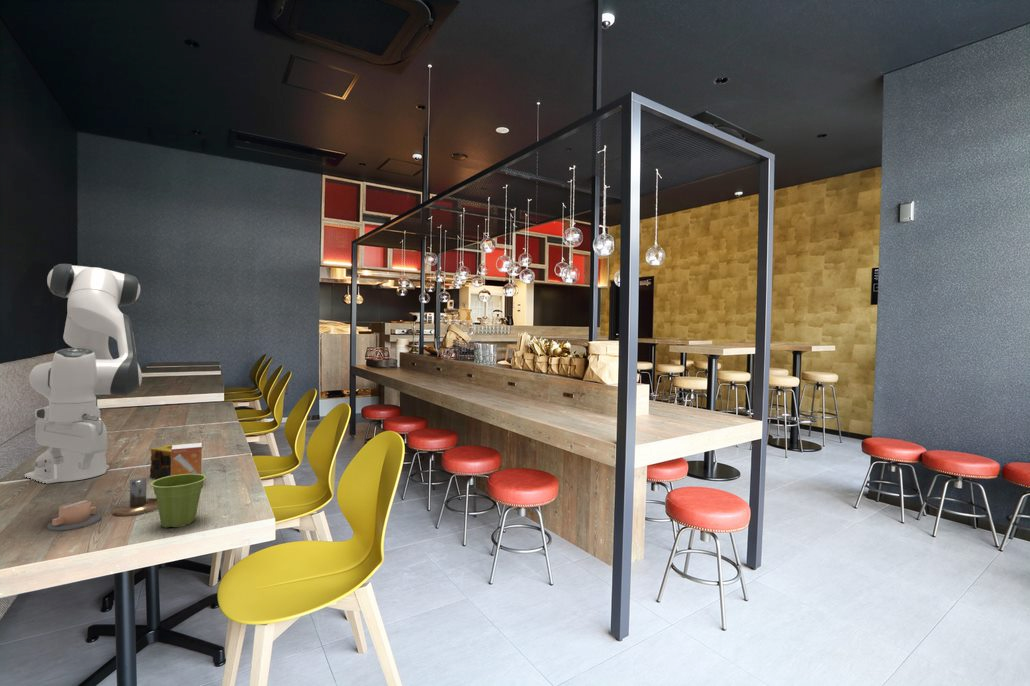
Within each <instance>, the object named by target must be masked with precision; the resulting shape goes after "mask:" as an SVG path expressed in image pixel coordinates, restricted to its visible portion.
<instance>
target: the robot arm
mask: <svg viewBox="0 0 1030 686" xmlns="http://www.w3.org/2000/svg"><path fill="white" fill-rule="evenodd" d="M46 281H47V282H46V283H47V286H48V289H49V291H50V292H51V293H52V294H53V295H55V296H57V297H60V298H63V299H66V298H67V304H66V305H67V307H66V309H67V310H66V311H67V314H66V320H65V323H64V325H65V326H64V332H63V335H62V336H63V337H62V338H63V341H64V342H65V344H67V345H68V346H69V347H68V348H62V349H59V350H56V351H55V353H54V355H53V358H52V360H51V361H47V362H44V363H43V362H42V363H40V364H37V365H35V366H34V367H33V368H32V370H31V371H30V373H29V375H28V376H29V377H28V383H29V384H30V387H31V388H32V389H33V391H35V392H36V393H39V394H40V395H42V396H43V397H45V398H46V399H47V401H48V405H47V406H44V407H40V408H37V409H35V410H34V417H35V419H36V421H35V429H34V430H35V434H34V435H35V440H36V443H37V445H38V446H44V447H48V449H47V450H45V451H44V452H43V453H42V454H40V455H39V456H37V458H35V462H34V470H32V471H29V472H26V473H24V478H26V477H27V478H26V479H29V478H31V479H30V480H32V479H34V480H33V481H35V480H36V481H35V482H38V481H39V483H41V482H42V483H41V484H44V483H46V484H53V483H60V482H61V483H62V482H72V481H80V480H85V479H90V478H91V479H92V478H95V477H98V476H101V475H104V474H105V473H107V470H108V469H109V470H110V465H109V464H107V460H106V459H107V457H106V450H107V449H108V432H107V426H106V425H105V423H104V421H103V420H102V419H101V410H100V407H98V406H97V396H99V395H111V396H125V397H127V396H128V395H129V396H130V395H131V394H133V393H134V392H135V391H137V390H138V389H139V388H140V387H141V384H142V381H143V375H142V374H143V373H142V370H141V366H140V364H139V362H138V358H137V357H138V356H137V348H136V343H135V337H134V330H133V327H132V326H133V325H132V322H131V319H130V317H129V315H127V314H126V313H123V312H122V311H121V310H120V308H122V306H123V307H124V306H126V307H127V306H130V305H132V304H134V303H135V302H136V301H137V299H138V298H139V297H140V294H141V284H140V283H139V280H138V278H137V277H136V276H134V275H132V274H129V273H126V272H125V273H122V272H119V271H115V270H110V269H106V268H102V267H96V266H95V267H93V266H92V267H91V266H83V265H73V264H72V263H59V264H57V265H54V266H53V268H52V269H51V270H50V271H49V272H48V275H47V279H46ZM110 337H111V338H112V339H114V340H115V341H116V343H117V344H116V345H117V350H118V351H117V352H118V357H117V358H113V357H112V355H111V352H110V350H109V338H110ZM96 395H97V396H96Z"/></svg>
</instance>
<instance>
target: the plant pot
mask: <svg viewBox="0 0 1030 686" xmlns="http://www.w3.org/2000/svg"><path fill="white" fill-rule="evenodd" d="M206 479H207V475H205V474H202V473H201V474H180V475H173V476H168V477H163V478H160V479H154V480H153V481H152V482H150V487H152V488H153V492H154V495H155V497H156V499H157V504H158V509H157V510H158V515H159V519H160V524H161V527H163V528H166V527H167V528H171V527H173V528H180V527H179V526H181V527H183V526H188V525H190V524H192V522H194V521H196V517H197V511H198V507H199V502H200V499H201V498H200V496H201V492H202V489H203V486H204V483H205V480H206ZM187 524H188V525H187Z"/></svg>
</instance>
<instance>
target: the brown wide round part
mask: <svg viewBox="0 0 1030 686" xmlns="http://www.w3.org/2000/svg"><path fill="white" fill-rule="evenodd" d="M156 509H157V510H158V504H157V499H156V498H155V497H153V498H152V497H149V498H148V497H147V478H145V477H144V478H143V477H140V478H132V479H131V480H129V500H128V501H125V502H122V503H121V502H120V503H119V504H117V505H115V506H113V507H112V508H111V514H112V515H113V516H115V515H116V516H115V517H133V515H134V516H139V515H140V516H141V515H144V513H145V514H149V513H152V512H154V510H155V511H157V510H156ZM151 511H152V512H151ZM148 512H149V513H148Z"/></svg>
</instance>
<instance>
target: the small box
mask: <svg viewBox="0 0 1030 686" xmlns="http://www.w3.org/2000/svg"><path fill="white" fill-rule="evenodd" d="M171 445H172V444H171ZM202 457H203V443H202V442H196V443H195V442H194V443H183V444H182V445H172V450H171V476H173V475H180V474H202V470H203V469H202V462H203V461H202V460H203V459H202Z"/></svg>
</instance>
